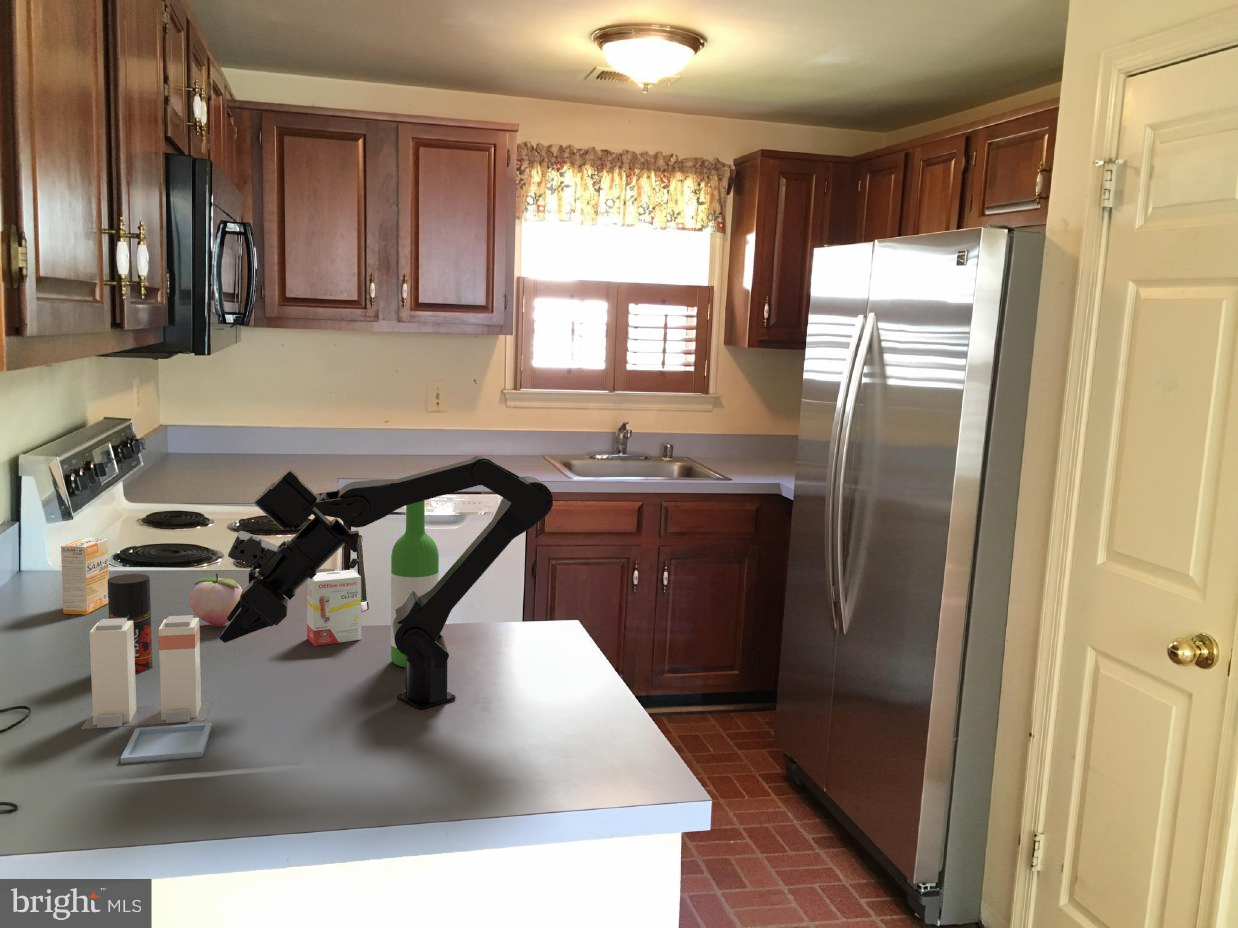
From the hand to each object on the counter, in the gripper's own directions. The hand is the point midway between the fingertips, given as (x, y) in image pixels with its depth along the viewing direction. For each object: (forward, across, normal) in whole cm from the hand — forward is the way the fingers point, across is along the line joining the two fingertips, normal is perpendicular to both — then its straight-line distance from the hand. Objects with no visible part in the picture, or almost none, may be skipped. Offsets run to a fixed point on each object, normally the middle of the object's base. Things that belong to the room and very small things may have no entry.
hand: (225, 630), depth 137 cm
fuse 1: (+18, 0, -2) cm, 19 cm away
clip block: (+16, 0, +1) cm, 16 cm away
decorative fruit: (+13, -43, +5) cm, 45 cm away
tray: (+13, +11, +4) cm, 17 cm away
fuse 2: (+12, 0, +4) cm, 13 cm away
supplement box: (+31, -58, -13) cm, 67 cm away
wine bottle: (-11, -17, +28) cm, 35 cm away
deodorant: (+20, -21, -3) cm, 29 cm away
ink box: (-2, -31, +19) cm, 37 cm away
